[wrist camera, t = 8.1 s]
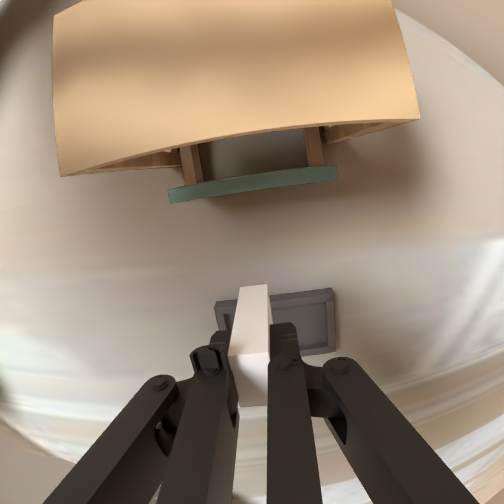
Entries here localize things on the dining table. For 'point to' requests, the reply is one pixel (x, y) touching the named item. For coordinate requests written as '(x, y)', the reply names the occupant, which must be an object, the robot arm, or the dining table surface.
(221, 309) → the tray
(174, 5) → the brown wooden frame
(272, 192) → the dining table surface
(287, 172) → the sled
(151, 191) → the dining table surface
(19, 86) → the dining table surface
